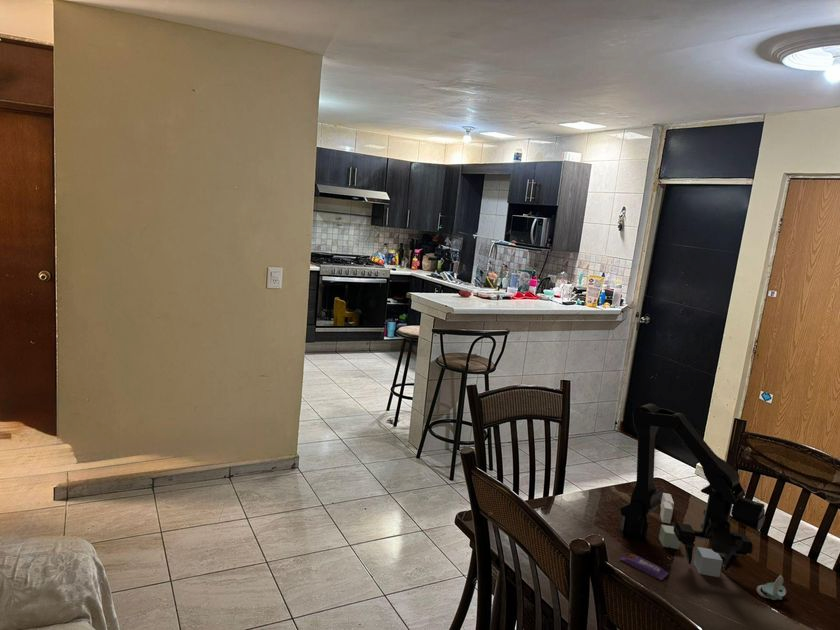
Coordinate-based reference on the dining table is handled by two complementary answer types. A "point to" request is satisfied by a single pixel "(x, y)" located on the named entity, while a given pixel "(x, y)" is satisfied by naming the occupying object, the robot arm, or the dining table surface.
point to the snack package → (644, 566)
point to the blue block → (708, 562)
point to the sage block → (668, 537)
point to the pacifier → (773, 589)
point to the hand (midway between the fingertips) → (706, 566)
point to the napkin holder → (666, 508)
